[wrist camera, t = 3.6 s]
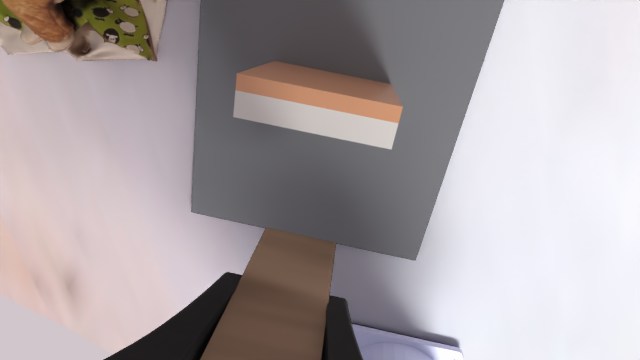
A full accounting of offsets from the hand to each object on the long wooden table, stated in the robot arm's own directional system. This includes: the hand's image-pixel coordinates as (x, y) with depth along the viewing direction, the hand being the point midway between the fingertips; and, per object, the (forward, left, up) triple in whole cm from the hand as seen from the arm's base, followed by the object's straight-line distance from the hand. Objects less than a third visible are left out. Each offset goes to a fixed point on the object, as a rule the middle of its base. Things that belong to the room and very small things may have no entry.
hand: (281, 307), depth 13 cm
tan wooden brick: (0, 0, -3) cm, 3 cm away
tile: (+6, 0, -9) cm, 11 cm away
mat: (+5, 0, -9) cm, 11 cm away
